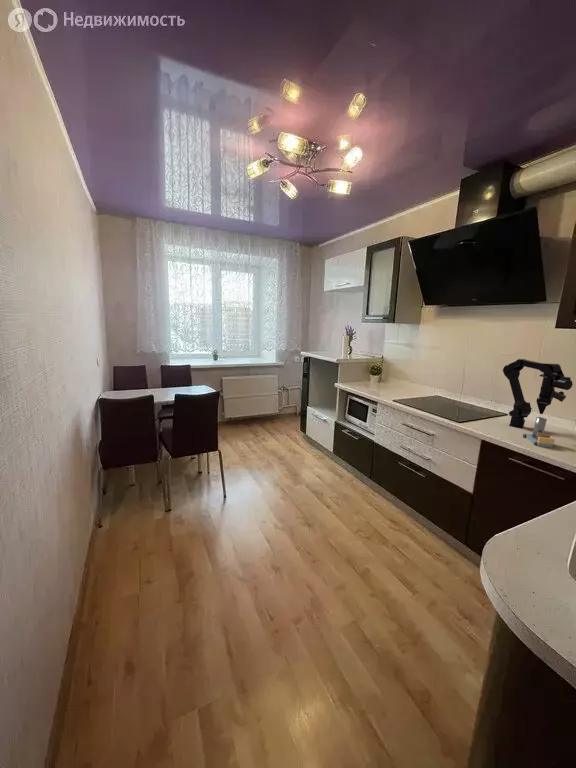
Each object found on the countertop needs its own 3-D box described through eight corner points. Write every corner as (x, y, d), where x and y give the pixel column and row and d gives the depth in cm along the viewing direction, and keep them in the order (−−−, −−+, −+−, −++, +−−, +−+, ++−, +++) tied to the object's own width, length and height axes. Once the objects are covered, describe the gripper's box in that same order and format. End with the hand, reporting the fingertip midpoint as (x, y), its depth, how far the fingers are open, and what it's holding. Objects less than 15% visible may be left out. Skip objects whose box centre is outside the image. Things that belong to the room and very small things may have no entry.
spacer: (532, 438, 170) (537, 418, 168) (530, 435, 174) (535, 416, 172) (542, 439, 169) (547, 420, 166) (540, 437, 172) (545, 418, 170)
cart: (521, 436, 178) (523, 428, 177) (539, 438, 176) (541, 429, 175) (535, 445, 164) (537, 437, 163) (554, 448, 163) (556, 439, 162)
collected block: (535, 439, 169) (537, 432, 168) (543, 440, 168) (545, 432, 168) (539, 441, 165) (541, 434, 164) (548, 442, 165) (550, 435, 164)
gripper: (566, 391, 164) (559, 419, 168) (567, 386, 178) (561, 412, 181) (539, 387, 172) (533, 414, 175) (542, 382, 185) (536, 408, 188)
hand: (541, 412), depth 180 cm, fingers open, 9 cm apart
